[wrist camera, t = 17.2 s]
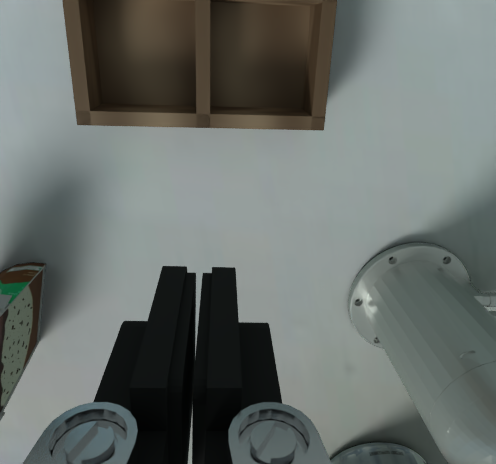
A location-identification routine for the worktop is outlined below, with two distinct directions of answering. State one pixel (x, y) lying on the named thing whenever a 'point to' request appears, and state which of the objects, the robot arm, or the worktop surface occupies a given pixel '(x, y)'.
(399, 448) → the supplement tub
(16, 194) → the worktop surface
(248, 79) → the rack
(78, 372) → the worktop surface
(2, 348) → the food container
